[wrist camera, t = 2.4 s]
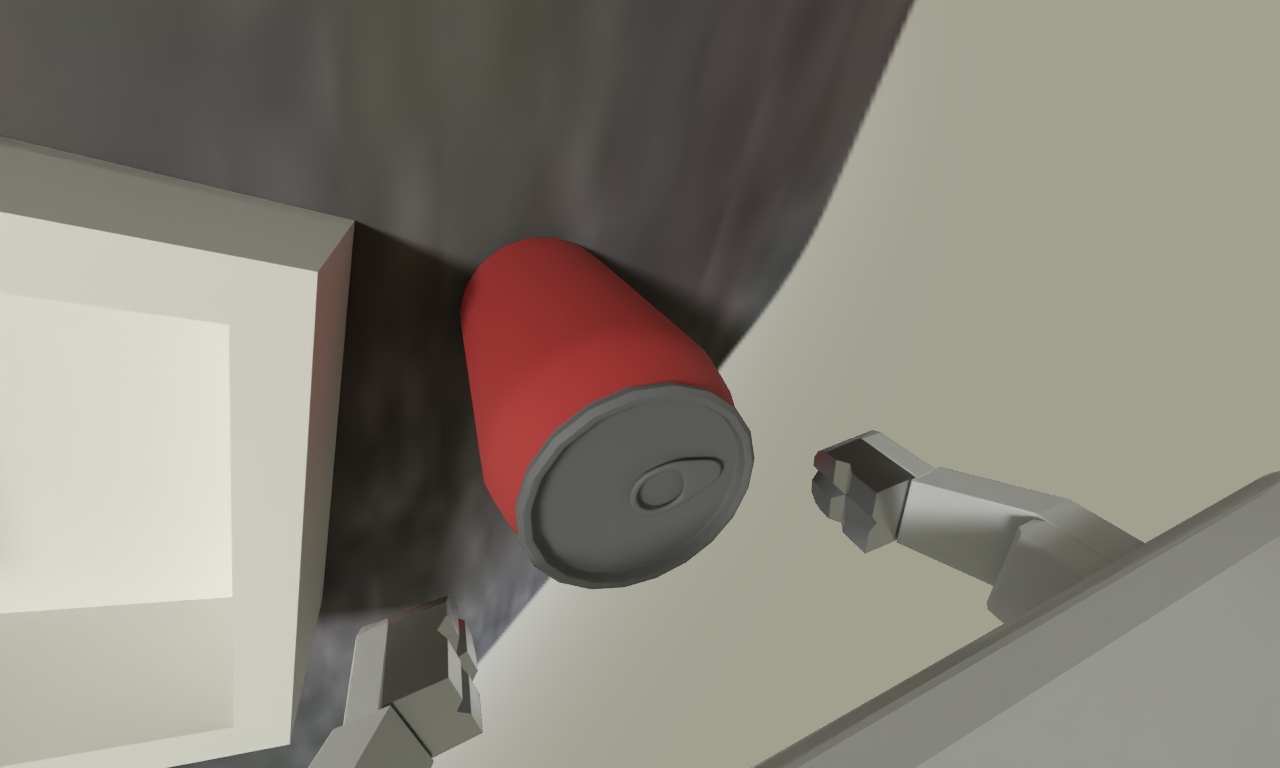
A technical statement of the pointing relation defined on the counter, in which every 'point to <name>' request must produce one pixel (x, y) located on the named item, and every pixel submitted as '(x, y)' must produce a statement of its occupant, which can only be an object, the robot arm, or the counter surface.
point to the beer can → (596, 418)
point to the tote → (160, 460)
